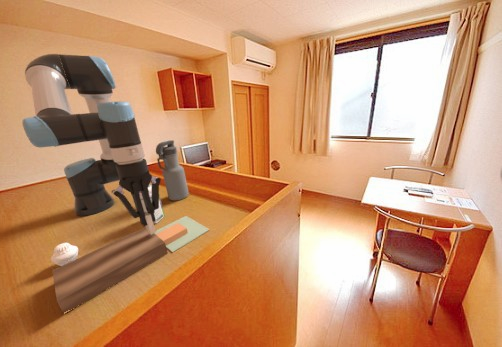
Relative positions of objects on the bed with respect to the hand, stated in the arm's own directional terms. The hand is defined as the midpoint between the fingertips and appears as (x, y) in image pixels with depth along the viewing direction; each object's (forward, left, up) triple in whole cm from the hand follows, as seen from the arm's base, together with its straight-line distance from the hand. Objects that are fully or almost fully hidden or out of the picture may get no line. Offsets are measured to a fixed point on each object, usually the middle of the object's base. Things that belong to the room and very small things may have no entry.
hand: (151, 232), depth 62 cm
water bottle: (-29, +24, -5) cm, 38 cm away
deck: (0, -11, -5) cm, 12 cm away
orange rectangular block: (0, +5, -5) cm, 7 cm away
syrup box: (-17, +7, -5) cm, 19 cm away
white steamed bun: (-14, -20, -5) cm, 25 cm away
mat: (0, +9, -5) cm, 10 cm away
